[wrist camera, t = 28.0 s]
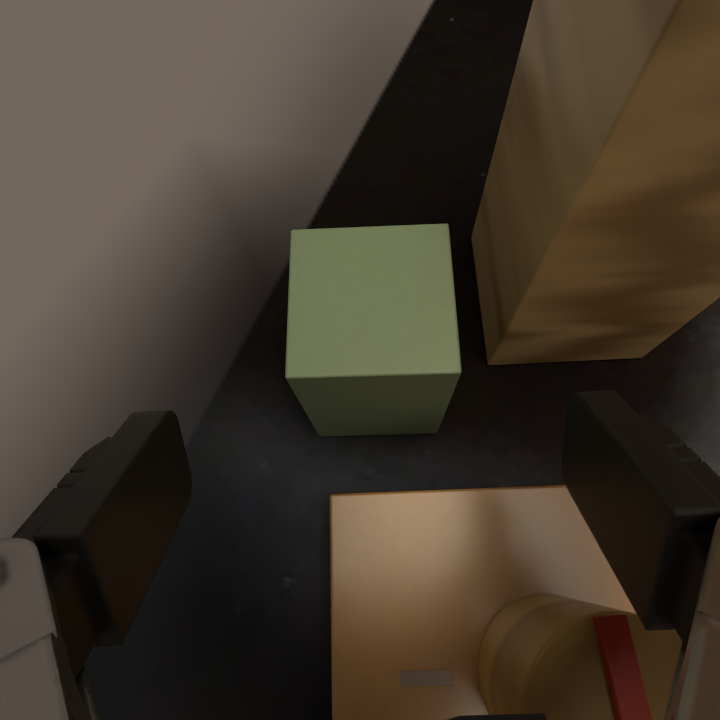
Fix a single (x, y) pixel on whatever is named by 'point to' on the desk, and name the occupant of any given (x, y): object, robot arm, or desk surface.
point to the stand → (603, 183)
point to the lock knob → (575, 662)
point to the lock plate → (444, 589)
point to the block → (372, 328)
